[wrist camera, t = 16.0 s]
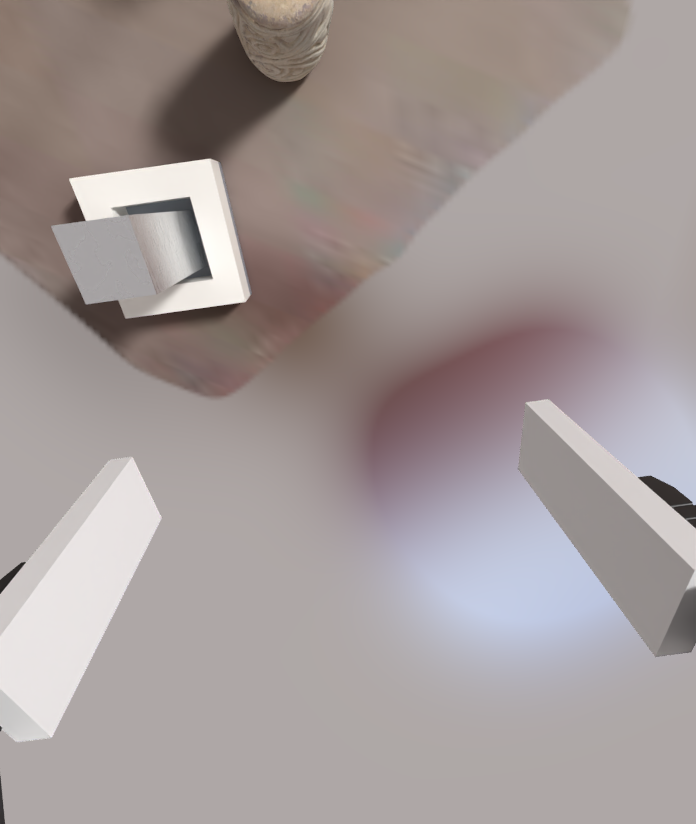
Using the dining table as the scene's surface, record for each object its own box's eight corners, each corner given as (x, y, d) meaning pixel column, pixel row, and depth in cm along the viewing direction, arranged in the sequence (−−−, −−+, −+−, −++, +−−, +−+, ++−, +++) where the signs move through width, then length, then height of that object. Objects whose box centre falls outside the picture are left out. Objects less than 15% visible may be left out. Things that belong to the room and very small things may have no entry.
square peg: (140, 217, 37) (50, 226, 25) (192, 210, 37) (128, 215, 25) (158, 271, 40) (85, 304, 27) (207, 265, 39) (156, 294, 27)
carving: (348, 36, 33) (360, -41, 22) (283, 108, 35) (267, 69, 24) (294, -48, 30) (280, -181, 20) (228, 35, 32) (183, -45, 22)
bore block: (93, 180, 36) (68, 178, 33) (220, 162, 36) (209, 158, 33) (141, 308, 42) (125, 318, 39) (251, 293, 42) (245, 301, 39)
